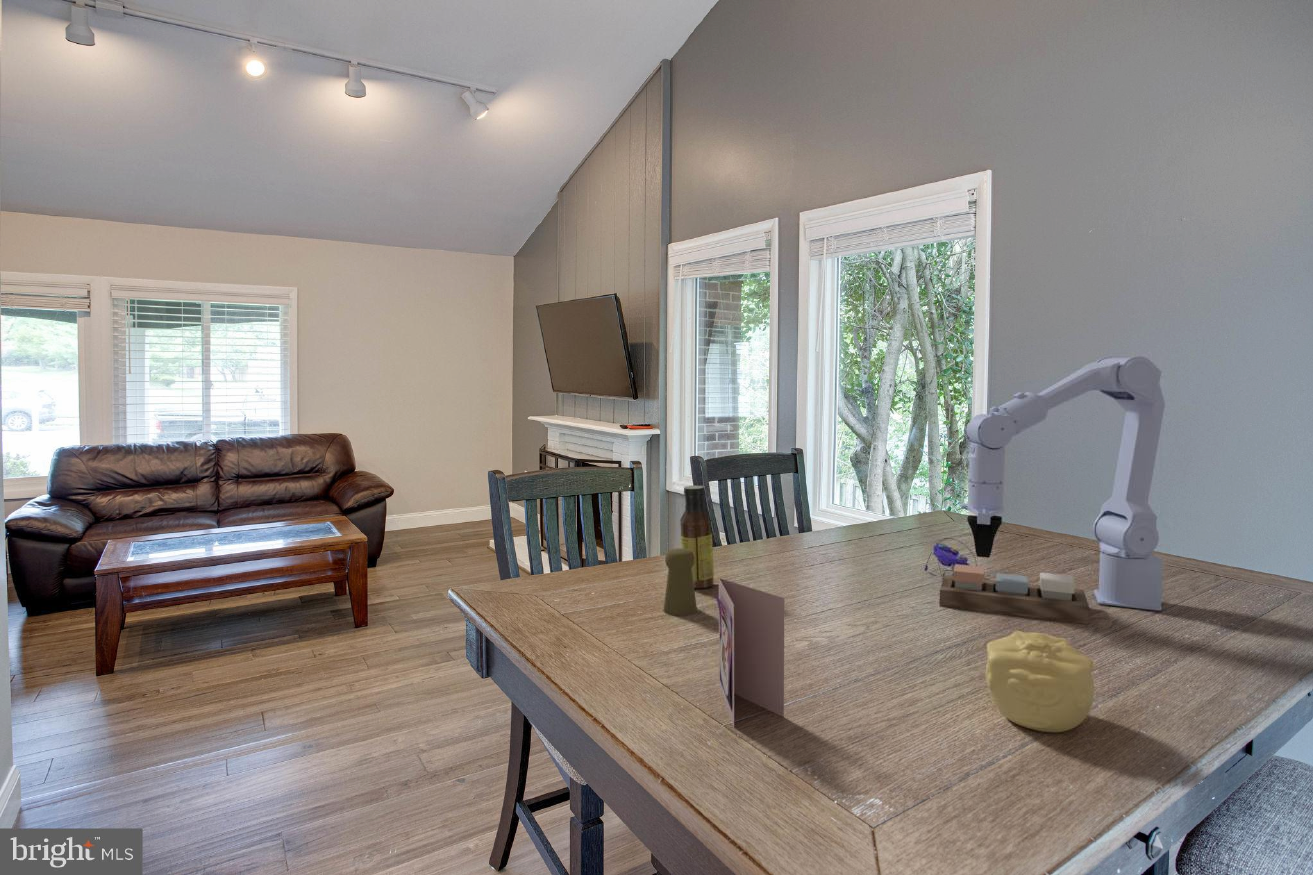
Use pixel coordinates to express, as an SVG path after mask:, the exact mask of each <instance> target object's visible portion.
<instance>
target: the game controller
mask: <svg viewBox="0 0 1313 875" xmlns="http://www.w3.org/2000/svg"><path fill="white" fill-rule="evenodd" d="M945 540H952V538H949V537H948V538H944V539H941V540H940V541H938V542H936V543H935V545H933V548H932V550H931V552H930V554H929V557H928V558H927V561H926V565H925V566H924V572H926V571H928V569H929V567H928V563H929V561H930V560H929V559H930V558H931V555H934V556H935V557H936V559H937V564H938V565H940V564H941V565H942V566H944V567H948V568H950V569H946V570H945V571H943V575H942V571H941V570H939V571H940V574H941V578H942V580H943V578H944V575H945V573H946V572H947V571H948V572H953V570H954V567H955V564H958V565H969V566H971V565H970V564H969V563H968V561H969V559H968V557H966V556H965V555H963V554H960V552H959V550H957V548H955V547H949V546H948V545H945V544H944V543H942V541H945ZM953 540H954V541H957V542H959V543H961V544H963V545H964V546H965V547H966V548H967V549H968V550H969V551H970V552H971V554H972V556H973V557H974V560H975V562H977V560H976V557H975V555H974V553H973V552H972V550H971V549H970V548H969V547H968V546H967V545H966V544H964V543H963V542H961V541H960V540H958V539H955V538H953ZM975 566H977V563H975ZM938 568H939V569H941V568H940V566H938Z"/></svg>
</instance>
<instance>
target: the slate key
mask: <svg viewBox="0 0 1313 875" xmlns="http://www.w3.org/2000/svg"><path fill="white" fill-rule="evenodd" d="M995 581H996V591H997V593H1004V594H1013V595H1022V596H1025V594H1027V592H1028V584H1029V583H1028V582H1029V580H1028V576H1027V575H1026V576H1025V575H1020V574H1019V575H1017V574H1008V573H998V572H997V573H996V576H995Z"/></svg>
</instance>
